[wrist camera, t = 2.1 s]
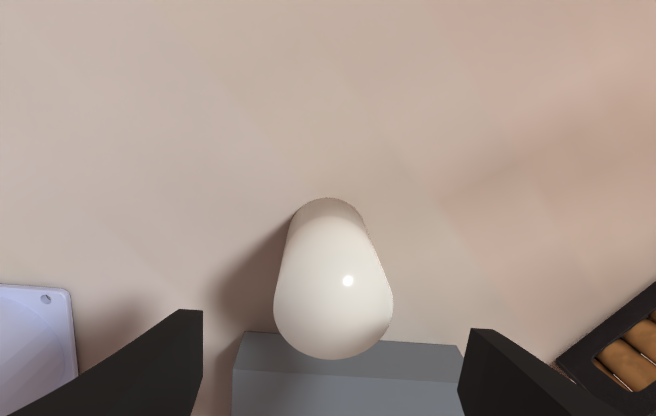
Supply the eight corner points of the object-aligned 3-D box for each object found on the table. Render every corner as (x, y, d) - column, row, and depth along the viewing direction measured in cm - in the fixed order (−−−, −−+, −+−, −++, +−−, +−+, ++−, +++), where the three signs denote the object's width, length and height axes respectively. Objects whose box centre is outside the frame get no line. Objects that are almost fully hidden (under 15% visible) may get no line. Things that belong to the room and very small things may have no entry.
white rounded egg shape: (285, 267, 19) (269, 356, 13) (291, 194, 18) (277, 248, 12) (360, 273, 20) (384, 363, 13) (370, 201, 18) (402, 257, 12)
